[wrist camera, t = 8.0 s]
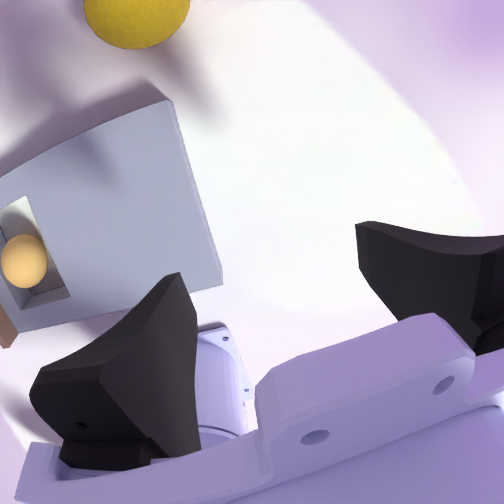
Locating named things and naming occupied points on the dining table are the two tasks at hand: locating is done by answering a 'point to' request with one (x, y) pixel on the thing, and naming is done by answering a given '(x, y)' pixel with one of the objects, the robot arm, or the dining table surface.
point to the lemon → (135, 20)
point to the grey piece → (110, 221)
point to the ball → (24, 261)
